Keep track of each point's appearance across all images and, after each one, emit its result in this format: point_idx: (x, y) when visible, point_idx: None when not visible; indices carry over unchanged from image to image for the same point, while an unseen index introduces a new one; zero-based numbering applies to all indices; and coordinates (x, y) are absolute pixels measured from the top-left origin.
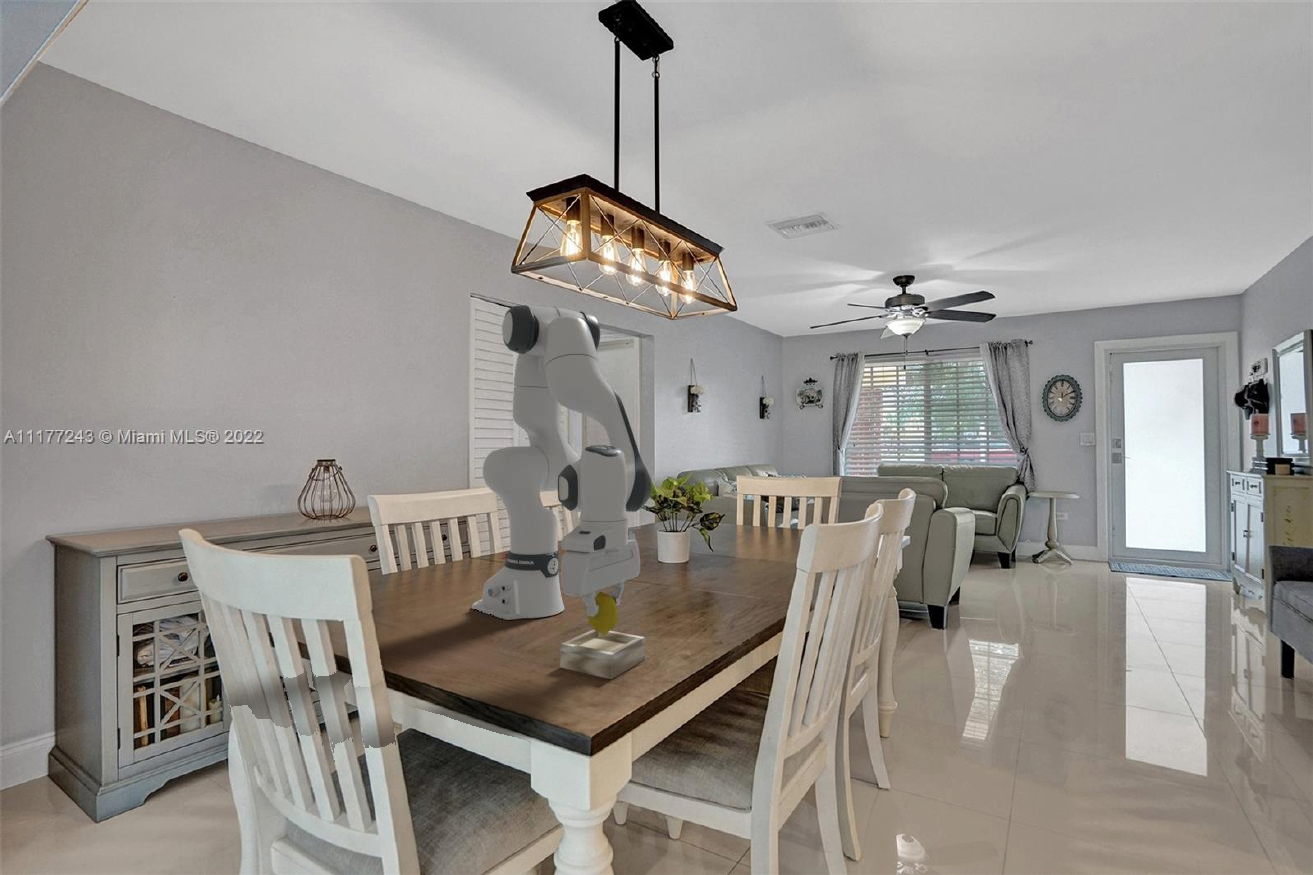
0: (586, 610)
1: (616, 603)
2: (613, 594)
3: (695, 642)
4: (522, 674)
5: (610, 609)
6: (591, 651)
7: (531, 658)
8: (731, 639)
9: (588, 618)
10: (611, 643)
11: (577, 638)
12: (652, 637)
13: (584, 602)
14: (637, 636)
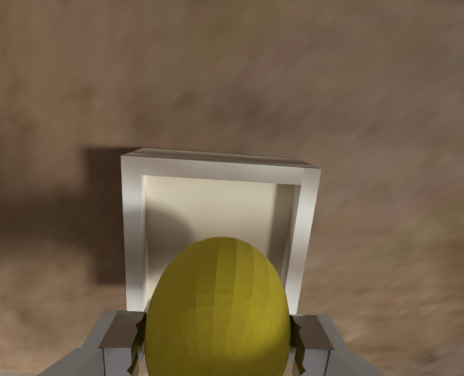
0: (95, 325)
1: (292, 362)
2: (338, 371)
3: (419, 323)
4: (49, 84)
5: None
6: (126, 266)
7: (158, 25)
8: (455, 368)
9: (169, 264)
10: (254, 246)
11: (196, 174)
12: (430, 233)
13: (47, 368)
14: (291, 310)
